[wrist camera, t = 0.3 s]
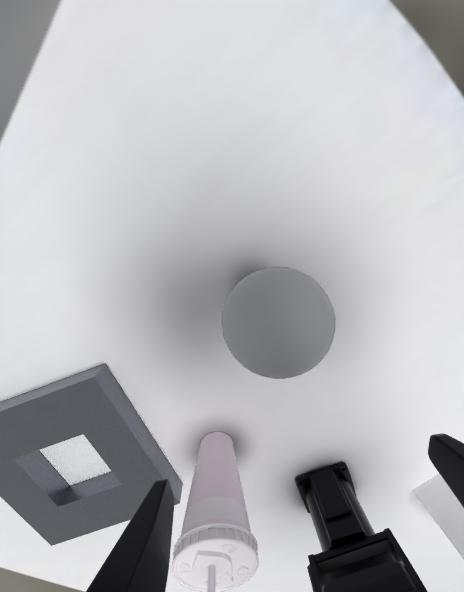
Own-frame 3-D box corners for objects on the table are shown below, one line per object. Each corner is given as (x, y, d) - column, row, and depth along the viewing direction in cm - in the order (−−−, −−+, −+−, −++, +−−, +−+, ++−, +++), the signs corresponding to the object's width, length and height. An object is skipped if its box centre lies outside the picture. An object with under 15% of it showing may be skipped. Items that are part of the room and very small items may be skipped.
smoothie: (227, 413, 24) (238, 641, 11) (254, 450, 26) (292, 686, 13) (177, 438, 25) (128, 684, 11) (207, 473, 27) (196, 721, 13)
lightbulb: (229, 324, 21) (239, 418, 11) (213, 261, 19) (206, 300, 9) (292, 309, 21) (365, 389, 11) (281, 244, 19) (357, 264, 9)
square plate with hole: (182, 483, 27) (179, 503, 25) (63, 523, 28) (51, 545, 26) (105, 363, 22) (94, 376, 20) (-40, 417, 22) (-64, 434, 20)
